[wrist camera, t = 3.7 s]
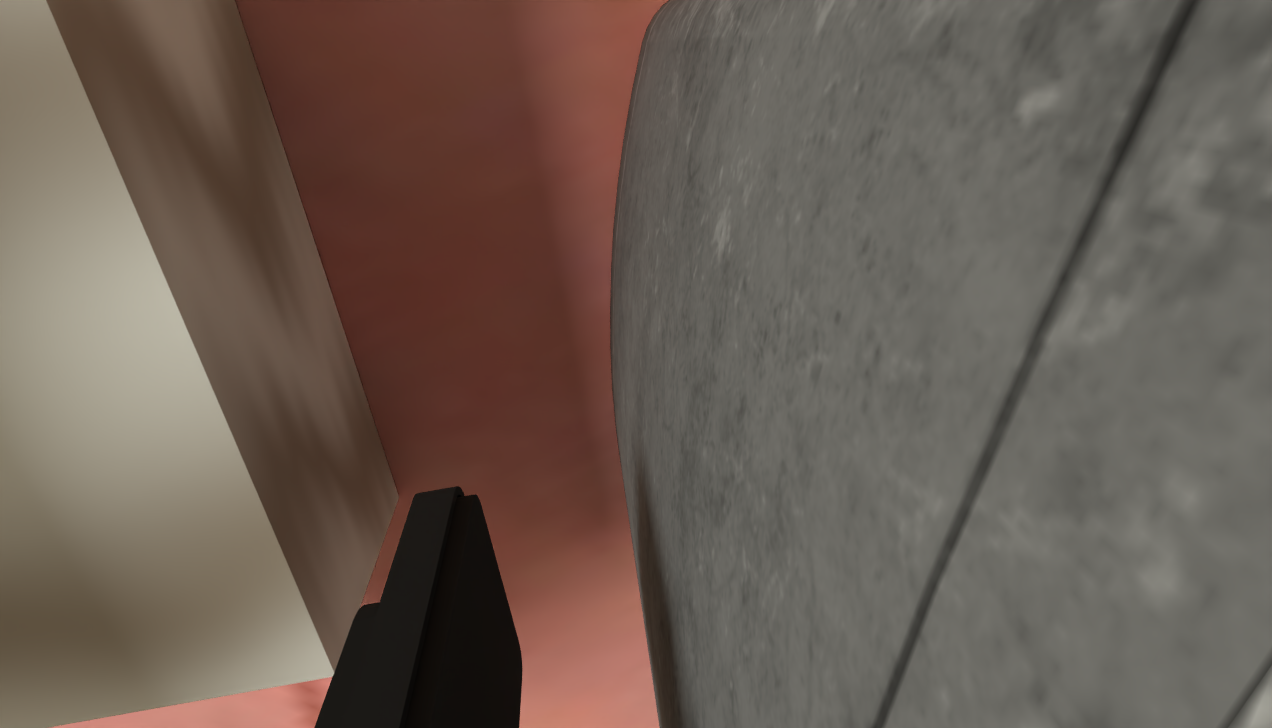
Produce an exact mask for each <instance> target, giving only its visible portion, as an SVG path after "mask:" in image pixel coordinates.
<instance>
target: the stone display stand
mask: <svg viewBox="0 0 1272 728" xmlns="http://www.w3.org/2000/svg"><path fill="white" fill-rule="evenodd" d="M398 499H399V495H398V492H397V489H396V486H395V483H394V480H393V477H392V474H391V471H390V468H389V465H388V462H387V459H386V456H385V453H384V450H383V447H382V444H381V441H380V438H379V435H378V432H377V429H376V426H375V423H374V420H373V417H372V414H371V411H370V408H369V405H368V402H367V399H366V396H365V393H364V390H363V386H362V383H361V380H360V377H359V374H358V371H357V368H356V365H355V362H354V359H353V356H352V353H351V350H350V347H349V344H348V341H347V338H346V335H345V332H344V329H343V326H342V323H341V320H340V317H339V314H338V311H337V308H336V305H335V302H334V299H333V296H332V293H331V290H330V287H329V284H328V281H327V278H326V275H325V272H324V269H323V266H322V263H321V259H320V256H319V253H318V250H317V247H316V244H315V241H314V238H313V235H312V232H311V229H310V226H309V223H308V220H307V217H306V214H305V211H304V208H303V205H302V202H301V199H300V196H299V193H298V190H297V187H296V184H295V181H294V178H293V175H292V172H291V169H290V166H289V163H288V160H287V157H286V154H285V151H284V148H283V145H282V142H281V139H280V136H279V132H278V129H277V126H276V123H275V120H274V117H273V114H272V111H271V108H270V105H269V102H268V99H267V96H266V93H265V90H264V87H263V84H262V81H261V78H260V75H259V72H258V69H257V66H256V63H255V60H254V57H253V54H252V51H251V48H250V45H249V42H248V39H247V36H246V33H245V30H244V27H243V24H242V21H241V18H240V15H239V12H238V9H237V6H236V2H235V0H0V728H48V727H54V726H59V725H65V724H70V723H76V722H82V721H87V720H93V719H98V718H104V717H110V716H115V715H121V714H126V713H132V712H138V711H143V710H149V709H154V708H160V707H165V706H171V705H177V704H182V703H188V702H193V701H199V700H205V699H210V698H216V697H221V696H227V695H233V694H238V693H244V692H249V691H255V690H261V689H266V688H272V687H277V686H283V685H289V684H294V683H300V682H305V681H311V680H317V679H322V678H328V677H333V675H334V672H335V669H336V666H337V664H338V661H339V658H340V655H341V652H342V650H343V647H344V644H345V641H346V639H347V636H348V633H349V630H350V627H351V625H352V622H353V619H354V617H355V615H356V613H357V611H358V610H359V609H360V606H361V603H362V601H363V598H364V595H365V592H366V589H367V586H368V584H369V581H370V578H371V575H372V572H373V570H374V567H375V564H376V561H377V558H378V556H379V553H380V550H381V547H382V544H383V541H384V539H385V536H386V533H387V530H388V527H389V525H390V522H391V519H392V516H393V513H394V511H395V508H396V505H397V502H398Z"/></svg>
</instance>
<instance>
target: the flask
mask: <svg viewBox="0 0 1272 728" xmlns="http://www.w3.org/2000/svg"><path fill="white" fill-rule="evenodd" d="M610 346H611V373H612V391H613V402H614V413H615V423H616V431H617V439H618V447H619V455H620V462H621V468H622V475H623V482H624V489H625V496H626V502H627V509H628V516H629V523H630V529H631V536H632V543H633V550H634V556H635V563H636V570H637V577H638V584H639V590H640V597H641V604H642V611H643V617H644V624H645V631H646V638H647V644H648V651H649V658H650V665H651V672H652V678H653V685H654V692H655V699H656V705H657V712H658V719H659V726H660V728H1272V0H669V1H667V2H666V3H665V4H664V5H663V6H662V7H661V8H660V9H659V10H658V12H657V13H656V14H655V15H654V17H653V18H652V20H651V22H650V24H649V26H648V27H647V29H646V32H645V36H644V39H643V42H642V46H641V51H640V55H639V60H638V65H637V70H636V74H635V79H634V84H633V89H632V94H631V100H630V105H629V111H628V117H627V122H626V128H625V134H624V139H623V147H622V155H621V163H620V170H619V178H618V186H617V197H616V207H615V217H614V228H613V245H612V263H611V302H610Z"/></svg>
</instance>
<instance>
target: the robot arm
mask: <svg viewBox="0 0 1272 728" xmlns="http://www.w3.org/2000/svg"><path fill="white" fill-rule="evenodd" d="M521 686H522V657H521V650H520V645H519V641H518V637H517V633H516V630H515V626H514V622H513V619H512V615H511V612H510V608H509V604H508V601H507V597H506V593H505V590H504V586H503V582H502V579H501V575H500V572H499V568H498V564H497V561H496V557H495V553H494V550H493V546H492V543H491V539H490V535H489V532H488V528H487V524H486V521H485V517H484V513H483V510H482V506H481V503H480V500H479V498H478V496H477V495H476V494H475V495H469V496H465V495H464V493H463V491H462V489H461V488H460V487H459V486H457V487H451V488H445V489H440V490H434V491H428V492H422V493H418V494H415V496H414V498H413V501H412V504H411V507H410V510H409V513H408V516H407V520H406V523H405V526H404V529H403V532H402V535H401V538H400V541H399V544H398V547H397V551H396V554H395V557H394V560H393V563H392V566H391V569H390V572H389V575H388V579H387V582H386V585H385V588H384V591H383V594H382V597H381V600H380V602H379V603H373V604H367V605H364V606H362V607H361V608H360V609H359V610H358V611H357V613H356V615H355V617H354V619H353V622H352V625H351V627H350V630H349V633H348V636H347V639H346V641H345V644H344V647H343V650H342V652H341V655H340V658H339V661H338V664H337V666H336V669H335V672H334V675H333V678H332V680H331V683H330V686H329V689H328V691H327V694H326V697H325V700H324V703H323V705H322V708H321V711H320V714H319V717H318V719H317V722H316V725H315V728H519V720H520V703H521Z"/></svg>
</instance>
